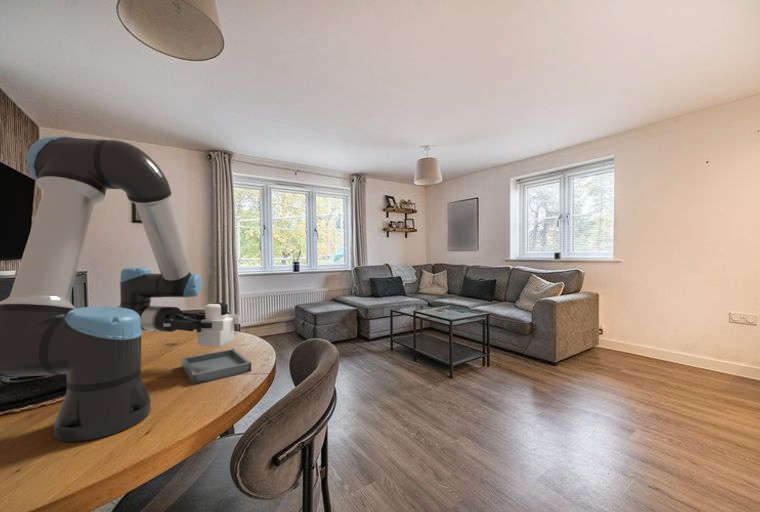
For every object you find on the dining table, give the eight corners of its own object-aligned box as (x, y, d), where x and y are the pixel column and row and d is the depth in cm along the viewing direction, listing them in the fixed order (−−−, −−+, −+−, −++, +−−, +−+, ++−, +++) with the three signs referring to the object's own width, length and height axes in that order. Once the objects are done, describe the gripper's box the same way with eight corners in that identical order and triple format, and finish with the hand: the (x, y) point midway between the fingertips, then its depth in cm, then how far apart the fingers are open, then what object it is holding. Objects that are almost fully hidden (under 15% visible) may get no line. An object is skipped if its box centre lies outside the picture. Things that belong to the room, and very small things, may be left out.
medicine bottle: (213, 338, 99) (213, 301, 99) (234, 340, 98) (234, 301, 98) (197, 345, 92) (197, 305, 92) (219, 347, 91) (219, 306, 91)
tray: (251, 371, 93) (251, 362, 93) (193, 384, 83) (193, 375, 83) (233, 356, 106) (233, 348, 106) (181, 366, 96) (181, 358, 96)
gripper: (187, 323, 107) (249, 326, 104) (133, 340, 87) (209, 344, 84) (187, 301, 107) (250, 304, 104) (133, 313, 87) (209, 317, 84)
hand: (231, 322), depth 94 cm, fingers closed on medicine bottle, 7 cm apart
